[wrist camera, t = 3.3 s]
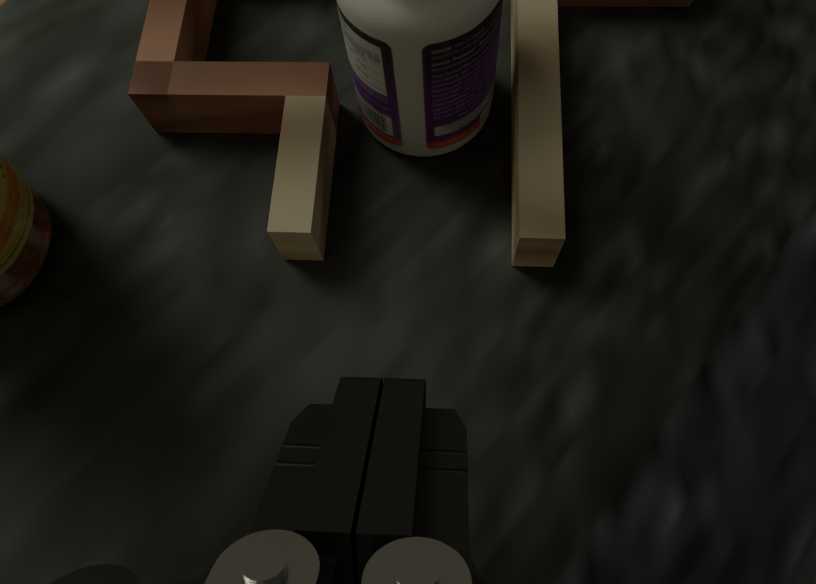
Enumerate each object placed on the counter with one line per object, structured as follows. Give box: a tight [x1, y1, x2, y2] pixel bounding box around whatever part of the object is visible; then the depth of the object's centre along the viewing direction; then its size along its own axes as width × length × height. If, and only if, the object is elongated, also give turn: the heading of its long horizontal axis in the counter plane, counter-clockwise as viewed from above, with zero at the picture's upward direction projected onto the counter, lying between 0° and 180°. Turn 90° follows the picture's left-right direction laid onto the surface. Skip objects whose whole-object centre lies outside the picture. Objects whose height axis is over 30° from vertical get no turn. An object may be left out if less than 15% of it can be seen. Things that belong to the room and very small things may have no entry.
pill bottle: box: [336, 0, 503, 157], centre depth 21 cm, size 5×5×10 cm
